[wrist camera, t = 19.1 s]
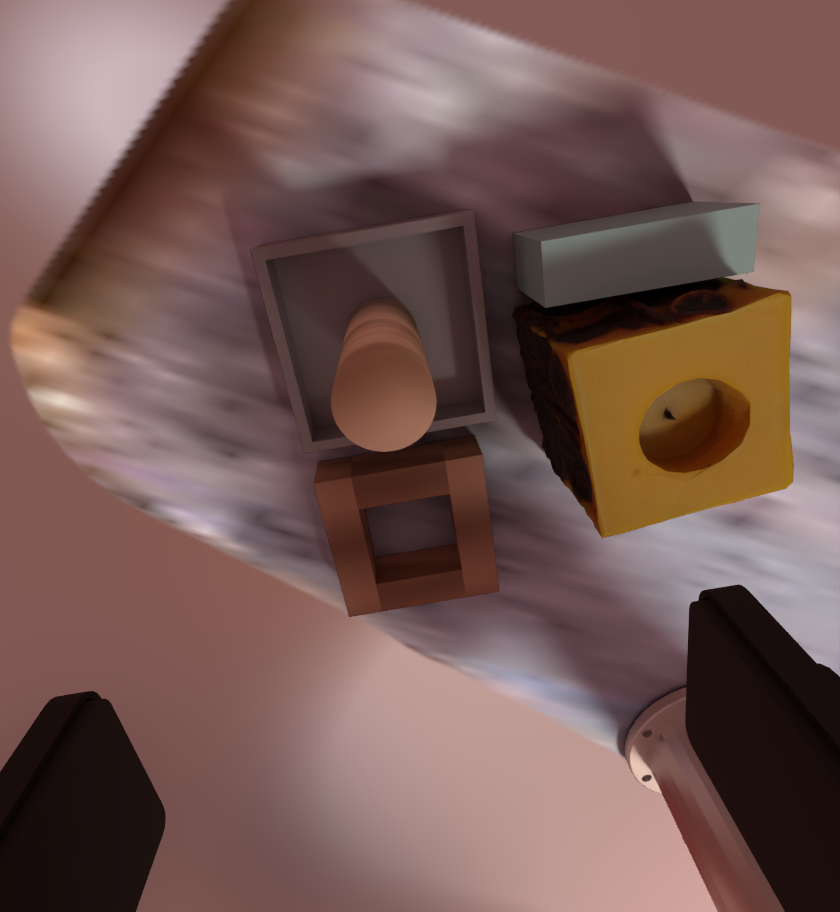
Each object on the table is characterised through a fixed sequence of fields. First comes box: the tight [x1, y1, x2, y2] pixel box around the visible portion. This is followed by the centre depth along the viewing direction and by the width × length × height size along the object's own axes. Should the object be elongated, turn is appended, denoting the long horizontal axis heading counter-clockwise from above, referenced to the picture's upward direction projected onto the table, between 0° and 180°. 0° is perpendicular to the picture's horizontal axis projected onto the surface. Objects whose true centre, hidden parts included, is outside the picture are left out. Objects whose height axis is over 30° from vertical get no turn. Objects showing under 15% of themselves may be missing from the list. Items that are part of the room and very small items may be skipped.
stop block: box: [513, 202, 759, 308], centre depth 30 cm, size 3×10×6 cm, turn 99°
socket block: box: [314, 435, 499, 617], centre depth 37 cm, size 10×10×3 cm
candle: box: [512, 277, 794, 538], centre depth 31 cm, size 10×10×10 cm
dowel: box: [331, 297, 437, 452], centre depth 27 cm, size 4×4×12 cm
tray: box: [250, 209, 497, 453], centre depth 32 cm, size 11×11×3 cm
